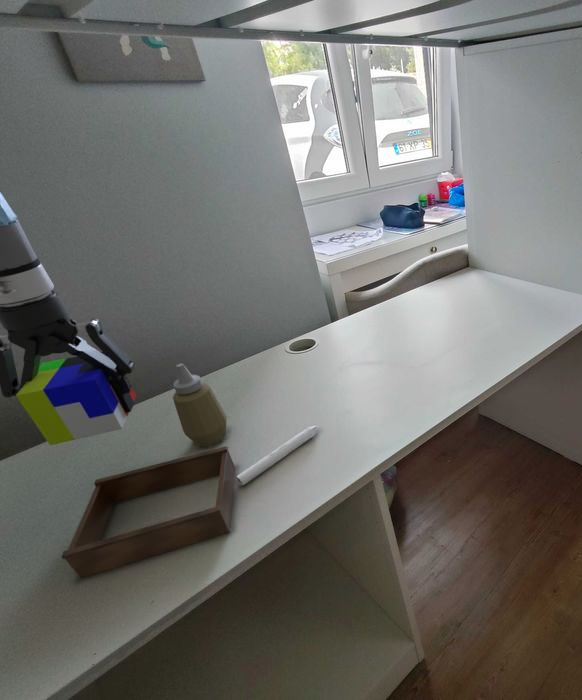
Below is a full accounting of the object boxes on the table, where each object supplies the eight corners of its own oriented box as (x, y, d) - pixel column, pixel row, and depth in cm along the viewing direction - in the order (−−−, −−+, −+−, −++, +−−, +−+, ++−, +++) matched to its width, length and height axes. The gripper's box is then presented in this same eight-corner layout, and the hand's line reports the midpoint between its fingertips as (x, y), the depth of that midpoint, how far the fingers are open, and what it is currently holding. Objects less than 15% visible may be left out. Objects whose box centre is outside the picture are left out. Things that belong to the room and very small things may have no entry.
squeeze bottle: (180, 447, 91) (144, 374, 81) (208, 422, 97) (178, 352, 88) (213, 453, 89) (180, 379, 80) (240, 427, 95) (212, 356, 86)
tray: (79, 579, 66) (61, 556, 64) (109, 501, 79) (95, 479, 76) (230, 532, 72) (219, 510, 70) (236, 467, 85) (227, 445, 82)
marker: (316, 428, 94) (314, 419, 93) (323, 431, 93) (320, 423, 92) (237, 483, 82) (234, 473, 80) (244, 487, 81) (240, 478, 79)
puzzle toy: (122, 428, 74) (94, 379, 69) (50, 445, 71) (15, 395, 66) (136, 396, 82) (112, 350, 77) (72, 409, 79) (42, 362, 74)
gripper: (-94, 323, 59) (2, 447, 70) (106, 293, 65) (164, 411, 77) (-60, 301, 65) (23, 419, 76) (120, 276, 72) (171, 388, 83)
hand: (94, 415), depth 77 cm, fingers closed on puzzle toy, 10 cm apart
